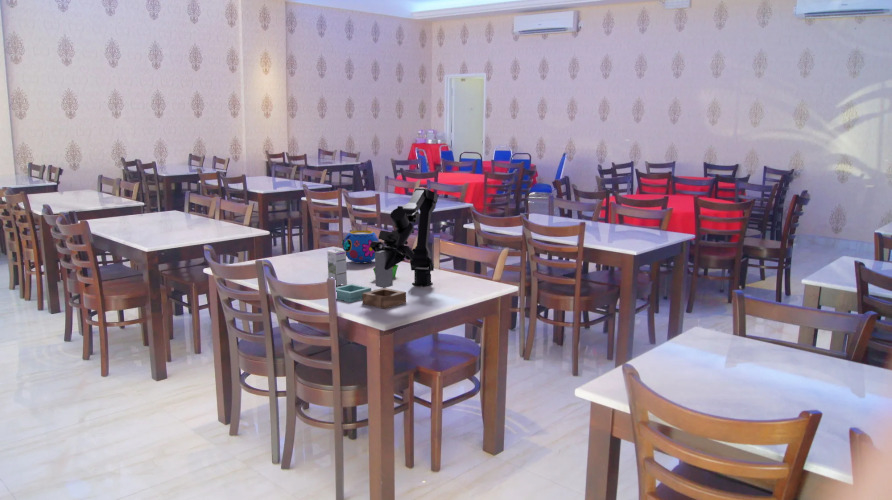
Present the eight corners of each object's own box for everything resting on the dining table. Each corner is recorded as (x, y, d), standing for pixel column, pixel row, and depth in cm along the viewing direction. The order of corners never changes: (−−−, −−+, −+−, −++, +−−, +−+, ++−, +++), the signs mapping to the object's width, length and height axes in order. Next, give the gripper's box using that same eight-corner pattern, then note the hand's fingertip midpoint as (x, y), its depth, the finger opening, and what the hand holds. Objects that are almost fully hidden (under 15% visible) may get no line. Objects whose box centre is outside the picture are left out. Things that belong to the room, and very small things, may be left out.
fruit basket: (388, 281, 293) (388, 255, 291) (369, 280, 296) (369, 254, 294) (399, 276, 304) (398, 251, 302) (380, 274, 306) (380, 249, 304)
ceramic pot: (341, 259, 340) (340, 229, 338) (377, 258, 344) (376, 228, 342) (345, 266, 324) (344, 235, 321) (382, 265, 328) (382, 233, 325)
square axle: (375, 286, 256) (374, 252, 254) (384, 284, 259) (383, 250, 257) (384, 288, 253) (383, 253, 251) (392, 285, 257) (392, 251, 254)
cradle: (327, 297, 266) (327, 289, 266) (352, 291, 276) (351, 283, 276) (350, 302, 258) (350, 294, 258) (375, 296, 268) (374, 287, 268)
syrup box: (347, 284, 288) (346, 250, 286) (336, 286, 284) (335, 252, 281) (339, 282, 292) (338, 248, 290) (327, 284, 288) (326, 250, 285)
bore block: (362, 303, 257) (362, 293, 256) (384, 297, 265) (384, 287, 265) (384, 308, 250) (384, 298, 249) (406, 302, 258) (406, 292, 258)
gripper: (372, 220, 261) (351, 252, 254) (408, 224, 249) (388, 258, 243) (387, 237, 268) (367, 270, 262) (423, 242, 257) (403, 276, 250)
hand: (381, 268), depth 254 cm, fingers closed on square axle, 4 cm apart
